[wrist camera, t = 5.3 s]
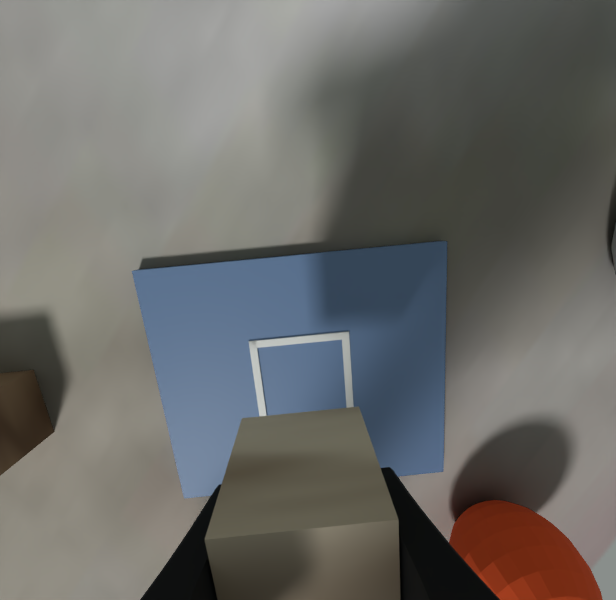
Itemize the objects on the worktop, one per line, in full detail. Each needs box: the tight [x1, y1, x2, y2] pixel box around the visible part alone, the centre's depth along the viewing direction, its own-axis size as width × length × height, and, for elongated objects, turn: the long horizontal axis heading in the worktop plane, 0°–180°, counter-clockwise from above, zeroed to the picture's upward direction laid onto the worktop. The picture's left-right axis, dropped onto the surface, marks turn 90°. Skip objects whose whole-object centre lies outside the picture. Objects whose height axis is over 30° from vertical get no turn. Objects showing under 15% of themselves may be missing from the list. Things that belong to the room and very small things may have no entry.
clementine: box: [449, 500, 602, 600], centre depth 16 cm, size 8×7×7 cm
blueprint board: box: [132, 241, 447, 498], centre depth 16 cm, size 14×16×1 cm
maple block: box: [205, 407, 401, 600], centre depth 8 cm, size 4×4×4 cm
